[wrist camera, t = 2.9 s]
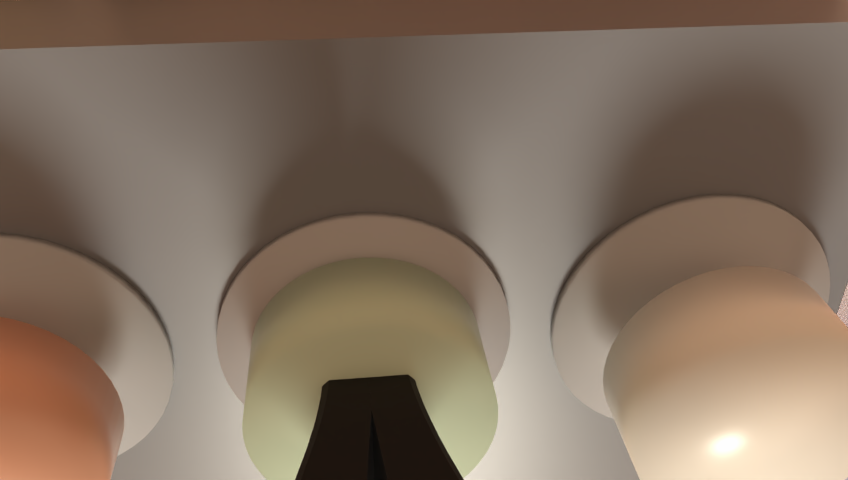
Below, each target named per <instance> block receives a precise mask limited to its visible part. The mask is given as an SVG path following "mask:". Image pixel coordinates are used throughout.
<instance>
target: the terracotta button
mask: <svg viewBox="0 0 848 480" xmlns="http://www.w3.org/2000/svg"><path fill="white" fill-rule="evenodd" d="M123 431H124V412H123V407H122V403H121V400H120V397H119V395H118V392H117V390H116V389H115V387H114V385H113V383H112V381H111V380H110V379H109V377H108V376H107V375H106V373H105V372H104V371H103V369H102V368H101V367H100V366H99V365H98V364H97V363H96V362H95V361H94V360H93V359H92V358H90V357H89V356H88V355H87V354H85V353H84V352H83V351H82V350H80V349H79V348H78V347H76V346H75V345H73V344H71V343H70V342H68V341H67V340H65V339H63V338H61V337H59V336H57V335H55V334H53V333H51V332H49V331H47V330H44V329H42V328H39V327H37V326H34V325H31V324H28V323H24V322H21V321H17V320H14V319H9V318H4V317H0V480H111V476H112V472H113V469H114V465H115V462H116V458H117V455H118V451H119V448H120V444H121V441H122V436H123Z"/></svg>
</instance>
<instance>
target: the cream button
mask: <svg viewBox="0 0 848 480" xmlns="http://www.w3.org/2000/svg"><path fill="white" fill-rule="evenodd" d="M603 388H604V394H605V398H606V401H607V404H608V406H609V409H610V411H611V413H612V416H613V418H614V420H615V423H616V425H617V427H618V430H619V432H620V434H621V437H622V439H623V441H624V444H625V446H626V449H627V451H628V453H629V456H630V458H631V460H632V463H633V465H634V467H635V470H636V472H637V474H638V477H639V479H640V480H845V479H846V478H848V327H847V326H846V325H845V324H844V323H843V322H842V321H841V319H840V318H839V317H838V316H837V315H836V314H835V313H834V311H833V310H832V309H831V308H830V307H829V306H828V305H827V304H826V302H825V301H824V300H823V299H822V298H821V297H820V296H819V295H818V293H817V292H816V291H815V290H814V289H813V288H812V287H810V286H809V285H808V284H807V283H806V282H804V281H803V280H801V279H800V278H798V277H796V276H794V275H792V274H789V273H787V272H785V271H781V270H777V269H773V268H768V267H759V266H738V267H729V268H723V269H718V270H714V271H709V272H706V273H703V274H700V275H697V276H694V277H691V278H689V279H687V280H684V281H682V282H680V283H678V284H676V285H674V286H672V287H671V288H669V289H667V290H665V291H663V292H662V293H660V294H659V295H658V296H656V297H655V298H653V299H652V300H650V301H649V302H648V303H647V304H646V305H644V306H643V307H642V308H641V309H640V310H639V311H637V312H636V314H635V315H634V316H633V317H632V318H631V319H630V320H629V321H628V322H627V323H626V325H625V326H624V327H623V329H622V330H621V331H620V333H619V334H618V336H617V337H616V339H615V341H614V343H613V344H612V346H611V348H610V351H609V353H608V356H607V358H606V363H605V367H604V372H603Z"/></svg>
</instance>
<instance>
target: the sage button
mask: <svg viewBox="0 0 848 480" xmlns="http://www.w3.org/2000/svg"><path fill="white" fill-rule="evenodd" d="M407 374H408V375H410V376H411V377H412V378H413V379H415V381H416V385H417V388H418V390H419V393H420V396H421V398H422V401H423V403H424V406H425V408H426V410H427V412H428V415H429V417H430V419H431V421H432V423H433V425H434V427H435V429H436V431H437V433H438V435H439V437H440V439H441V441H442V443H443V444H444V446H445V448H446V450H447V452H448V453H449V455H450V457H451V459H452V460H453V462H454V464H455V465H456V467H457V469H458V470H459V472H460V474H461V476H462V477H463V478H464V477H465V476H467V475H468V474H469V473H470V472H471V471H472V470H473V469H474V468H475V467H476V466H477V465H478V464H479V462H480V461H481V460H482V458H483V457H484V455H485V454H486V453H487V451H488V449H489V447H490V445H491V443H492V441H493V438H494V435H495V432H496V429H497V423H498V402H497V397H496V393H495V389H494V385H493V381H492V378H491V374H490V370H489V366H488V362H487V359H486V355H485V351H484V347H483V343H482V340H481V336H480V332H479V328H478V325H477V321H476V319H475V316H474V313H473V311H472V309H471V308H470V306H469V304H468V303H467V301H466V300H465V298H464V297H463V296H462V295H461V293H460V292H459V291H458V290H457V289H456V288H455V287H454V286H452V285H451V284H450V283H449V282H448V281H446V280H445V279H443V278H442V277H440V276H439V275H437V274H436V273H434V272H432V271H430V270H428V269H426V268H423V267H421V266H418V265H415V264H412V263H409V262H405V261H400V260H396V259H388V258H354V259H346V260H342V261H337V262H333V263H329V264H326V265H323V266H320V267H318V268H315V269H313V270H311V271H309V272H307V273H305V274H302V275H301V276H299V277H298V278H296V279H294V280H293V281H291V282H290V283H288V284H287V285H286V286H285V287H284V288H282V289H281V290H280V291H279V292H278V293H277V294H276V295H275V296H274V297H273V298H272V299H271V300H270V301H269V303H268V304H267V306H266V307H265V308H264V310H263V311H262V313H261V315H260V317H259V319H258V321H257V323H256V325H255V329H254V332H253V336H252V343H251V351H250V360H249V369H248V378H247V386H246V395H245V404H244V412H243V421H242V430H243V439H244V443H245V447H246V450H247V452H248V454H249V456H250V459H251V461H252V462H253V463H254V465H255V466H256V468H257V469H258V471H259V472H260V473H261V474H262V475H263V476H264V477H265V478H266V479H267V480H295V478H296V476H297V473H298V470H299V468H300V465H301V462H302V460H303V457H304V454H305V452H306V449H307V446H308V443H309V440H310V436H311V433H312V430H313V427H314V423H315V420H316V416H317V412H318V407H319V403H320V398H321V390H322V386H323V385H324V384H325V383H326V382H327V381H329V380H338V379H352V378H366V377H380V376H393V375H407Z"/></svg>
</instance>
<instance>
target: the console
mask: <svg viewBox="0 0 848 480" xmlns="http://www.w3.org/2000/svg"><path fill="white" fill-rule="evenodd" d="M354 258H388V259H396V260H400V261H405V262H409V263H412V264H415V265H418V266H421V267H423V268H426V269H428V270H430V271H432V272H434V273H436V274H437V275H439V276H440V277H442V278H443V279H445V280H446V281H448V282H449V283H450V284H451V285H452V286H454V287H455V288H456V289H457V290H458V291H459V292H460V293H461V295H462V296H463V297H464V298H465V300H466V301H467V303H468V304H469V306H470V308H471V309H472V311H473V313H474V316H475V319H476V321H477V325H478V328H479V332H480V336H481V340H482V343H483V347H484V351H485V355H486V359H487V362H488V366H489V370H490V374H491V378H492V381H493V385H494V389H495V393H496V397H497V402H498V423H497V429H496V432H495V435H494V438H493V441H492V443H491V445H490V447H489V449H488V451H487V453H486V454H485V455H484V457H483V458H482V460H481V461H480V462H479V464H478V465H477V466H476V467H475V468H474V469H473V470H472V471H471V472H470V473H469V474H468V475H467V476H465V477H464V478H463V479H464V480H640V479H639V477H638V474H637V472H636V470H635V467H634V465H633V463H632V460H631V458H630V456H629V453H628V451H627V449H626V446H625V444H624V441H623V439H622V437H621V434H620V432H619V430H618V427H617V425H616V423H615V420H614V418H613V416H612V413H611V411H610V409H609V406H608V404H607V401H606V398H605V394H604V388H603V372H604V367H605V363H606V358H607V356H608V353H609V351H610V348H611V346H612V344H613V343H614V341H615V339H616V337H617V336H618V334H619V333H620V331H621V330H622V329H623V327H624V326H625V325H626V323H627V322H628V321H629V320H630V319H631V318H632V317H633V316H634V315H635V314H636V312H637V311H639V310H640V309H641V308H642V307H643V306H644V305H646V304H647V303H648V302H649V301H650V300H652V299H653V298H655V297H656V296H658V295H659V294H660V293H662V292H663V291H665V290H667V289H669V288H671V287H672V286H674V285H676V284H678V283H680V282H682V281H684V280H687V279H689V278H691V277H694V276H697V275H700V274H703V273H706V272H709V271H714V270H718V269H723V268H729V267H738V266H759V267H768V268H773V269H777V270H781V271H785V272H787V273H789V274H792V275H794V276H796V277H798V278H800V279H801V280H803V281H804V282H806V283H807V284H808V285H809V286H810V287H812V288H813V289H814V290H815V291H816V292H817V293H818V295H819V296H820V297H821V298H822V299H823V300H824V301H825V302H826V304H827V305H828V306H829V307H830V308H831V309H832V310H833V311H834V313H835V314H836V315H837V312H838V309H839V306H840V303H841V300H842V297H843V294H844V291H845V289H846V286H847V283H848V0H0V317H4V318H9V319H14V320H17V321H21V322H24V323H28V324H31V325H34V326H37V327H39V328H42V329H44V330H47V331H49V332H51V333H53V334H55V335H57V336H59V337H61V338H63V339H65V340H67V341H68V342H70V343H71V344H73V345H75V346H76V347H78V348H79V349H80V350H82V351H83V352H84V353H85V354H87V355H88V356H89V357H90V358H92V359H93V360H94V361H95V362H96V363H97V364H98V365H99V366H100V367H101V368H102V369H103V371H104V372H105V373H106V375H107V376H108V377H109V379H110V380H111V381H112V383H113V385H114V387H115V389H116V390H117V392H118V395H119V397H120V400H121V403H122V407H123V412H124V431H123V436H122V441H121V444H120V448H119V451H118V455H117V458H116V462H115V465H114V469H113V472H112V476H111V480H267V479H266V478H265V477H264V476H263V475H262V474H261V473H260V472H259V471H258V469H257V468H256V466H255V465H254V463H253V462H252V461H251V459H250V456H249V454H248V452H247V450H246V447H245V443H244V439H243V430H242V421H243V412H244V404H245V395H246V386H247V378H248V369H249V360H250V351H251V343H252V336H253V332H254V329H255V325H256V323H257V321H258V319H259V317H260V315H261V313H262V311H263V310H264V308H265V307H266V306H267V304H268V303H269V301H270V300H271V299H272V298H273V297H274V296H275V295H276V294H277V293H278V292H279V291H280V290H281V289H282V288H284V287H285V286H286V285H287V284H288V283H290V282H291V281H293V280H294V279H296V278H298V277H299V276H301V275H302V274H305V273H307V272H309V271H311V270H313V269H315V268H318V267H320V266H323V265H326V264H329V263H333V262H337V261H342V260H346V259H354Z"/></svg>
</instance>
